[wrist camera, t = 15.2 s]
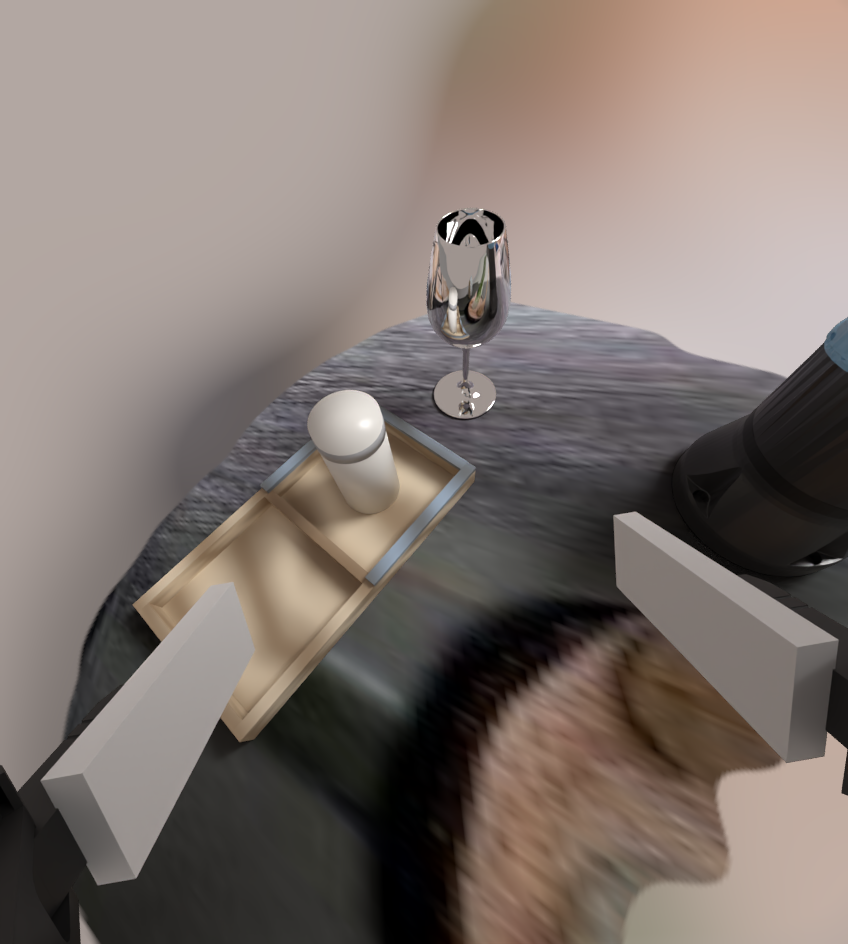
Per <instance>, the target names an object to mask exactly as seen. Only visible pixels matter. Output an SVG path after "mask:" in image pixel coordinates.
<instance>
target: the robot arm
mask: <svg viewBox="0 0 848 944" xmlns="http://www.w3.org/2000/svg"><path fill="white" fill-rule="evenodd" d="M672 490H673V496H674V499H675V503H676V505H677V508H678V510H679V512H680V514H681V516H682V518H683V519H684V521H685V522H686V524H687V525H688V526H689V528H690V529H691V530H692V531H693V533H694V534H695V535H696V536H697V537H698V538H699V539H700V540H701V541H702V542H703V543H705V544H706V545H707V546H708V547H709V548H711V549H712V550H713V551H715V552H716V553H717V554H719V555H720V556H722V557H724V558H725V559H727V560H729V561H731V562H733V563H735V564H737V565H739V566H741V567H744V568H746V569H749V570H752V571H755V572H758V573H762V574H767V575H772V576H783V577H793V576H802V575H807V574H810V573H814V572H816V571H819V570H822V569H824V568H827V567H830V566H832V565H835V564H837V563H839V562H840V561H842V560H843V559H845V558H847V557H848V318H846V319H844V320H843V321H841V322H840V323H838V324H837V325H836V326H835V327H834V328H833V329H832V330H831V331H830V332H829V333H828V335H827V339H826V340H825V342H824V343H823V344H822V345H821V346H820V347H819V348H818V349H817V350H816V351H815V352H814V353H813V354H812V355H811V356H810V357H809V358H808V359H807V360H806V361H805V362H804V363H803V364H802V365H801V366H800V367H799V368H797V369H796V370H795V371H794V372H793V373H792V374H791V375H790V376H789V377H788V378H787V379H786V380H785V381H784V382H783V383H782V384H781V385H780V386H779V387H778V388H776V389H775V390H774V391H773V392H772V393H771V394H770V395H769V396H768V397H767V398H766V399H765V400H764V401H763V402H762V403H761V404H760V405H759V406H758V407H757V408H756V409H755V410H754V411H753V412H752V413H751V414H749V415H747V416H744V417H742V418H740V419H738V420H735V421H733V422H731V423H729V424H726V425H724V426H722V427H720V428H717V429H715V430H713V431H711V432H709V433H707V434H705V435H703V436H702V437H700V438H699V439H698V440H696V441H695V442H694V443H693V444H692V445H691V446H690V447H689V448H688V449H687V450H686V452H685V453H684V454H683V455H682V456H681V457H680V459H679V460H678V462H677V464H676V466H675V468H674V472H673V477H672ZM613 517H614V540H615V562H616V584H617V587H618V588H619V589H620V590H621V591H622V593H623V594H624V595H625V596H626V597H627V598H628V599H629V600H630V601H631V602H632V603H633V604H634V605H635V606H636V607H637V608H638V609H639V610H640V611H641V612H642V613H643V614H644V615H645V616H646V617H647V619H648V620H649V621H650V622H651V623H652V624H653V625H654V626H655V627H656V628H657V629H658V630H659V631H660V632H661V633H662V634H663V635H664V636H665V637H666V638H667V639H668V640H669V641H670V642H671V643H672V644H673V646H674V647H675V648H676V649H677V650H678V651H679V652H680V653H681V654H682V655H683V656H684V657H685V658H686V659H687V660H688V661H689V662H690V663H691V664H692V665H693V666H694V667H695V668H696V669H697V670H698V672H699V673H700V674H701V675H702V676H703V677H704V678H705V679H706V680H707V681H708V682H709V683H710V684H711V685H712V686H713V687H714V688H715V689H716V690H717V691H718V692H719V693H720V694H721V695H722V696H723V698H724V699H725V700H726V701H727V702H728V703H729V704H730V705H731V706H732V707H733V708H734V709H735V710H736V711H737V712H738V713H739V714H740V715H741V716H742V717H743V718H744V719H745V720H746V721H747V722H748V723H749V725H750V726H751V727H752V728H753V729H754V730H755V731H756V732H757V733H758V734H759V735H760V736H761V737H762V738H763V739H764V740H765V741H766V742H767V743H768V744H769V745H770V746H771V747H772V748H773V749H774V751H775V752H776V753H777V754H778V755H779V756H780V757H781V758H782V759H783V760H784V761H785V762H786V763H789V762H795V761H801V760H806V759H812V758H817V757H823V756H824V754H825V746H826V738H827V732H828V733H830V734H831V735H832V736H833V737H834V738H836V739H837V740H838V741H839V742H840V743H841V744H842V745H843V746H845V747H846V748H847V749H848V628H846V627H844V626H842V625H841V624H839V623H837V622H836V621H834V620H832V619H831V618H829V617H827V616H826V615H824V614H822V613H821V612H819V611H817V610H816V609H814V608H812V607H811V608H809V607H808V605H807V604H805V603H804V602H802V601H800V600H799V599H797V598H795V597H793V598H792V597H791V595H790V594H789V593H787V592H785V591H784V590H782V589H780V588H778V587H777V586H775V585H773V584H772V583H770V582H767V581H764V580H761V579H758V578H756V577H753V576H750V575H747V574H743V575H735V574H734V573H732V572H730V571H729V570H727V569H726V568H724V567H722V566H721V565H719V564H718V563H716V562H715V561H713V560H711V559H710V558H708V557H707V556H705V555H703V554H702V553H700V552H699V551H697V550H696V549H694V548H692V547H691V546H689V545H688V544H686V543H684V542H683V541H681V540H680V539H678V538H677V537H675V536H673V535H672V534H670V533H669V532H667V531H665V530H664V529H662V528H661V527H659V526H658V525H656V524H654V523H653V522H651V521H650V520H648V519H646V518H645V517H643V516H642V515H640V514H639V513H637V512H630V513H624V514H619V515H613ZM254 651H255V647H254V644H253V641H252V638H251V635H250V632H249V629H248V626H247V623H246V620H245V617H244V614H243V611H242V607H241V604H240V601H239V598H238V595H237V592H236V589H235V586H234V583H233V582H229V583H223V584H218V585H212V586H210V587H209V588H208V590H207V591H206V592H205V593H204V594H203V595H202V596H201V598H200V599H199V600H198V601H197V602H196V603H195V604H194V606H193V607H192V608H191V609H190V610H189V611H188V612H187V614H186V615H185V616H184V617H183V618H182V619H181V620H180V622H179V623H178V624H177V625H176V626H175V627H174V628H173V630H172V631H171V632H170V633H169V634H168V635H167V636H166V638H165V639H164V640H163V641H162V642H161V643H160V644H159V646H158V647H157V648H156V649H155V650H154V651H153V652H152V654H151V655H150V656H149V657H148V658H147V659H146V660H145V662H144V663H143V664H142V665H141V666H140V667H139V668H138V670H137V671H136V672H135V673H134V674H133V675H132V676H131V678H130V679H129V680H128V681H127V682H126V683H125V684H124V685H120V686H119V687H118V688H116V689H115V690H114V691H112V692H111V693H110V694H109V695H107V696H106V697H105V698H103V699H102V700H101V701H100V702H98V703H97V705H96V706H95V707H94V708H93V709H92V710H91V711H90V712H89V713H88V715H87V716H86V717H85V718H84V719H83V720H82V724H79V725H78V726H77V727H76V728H75V729H74V730H73V731H72V732H71V733H70V734H69V736H68V739H67V740H64V741H63V742H62V743H61V744H60V745H59V747H58V748H57V749H56V750H55V751H54V752H53V753H52V754H51V755H50V757H49V758H48V759H47V760H46V761H45V762H44V763H43V764H42V765H41V766H40V768H39V769H38V770H37V771H36V772H35V773H34V774H33V775H32V776H31V778H30V779H29V780H28V781H27V782H26V783H25V784H24V785H23V787H21V789H20V790H19V791H18V792H17V791H16V789H15V787H14V785H13V784H12V782H11V780H10V779H9V777H8V775H7V773H6V771H5V770H4V768H3V767H2V766H1V765H0V944H81V943H80V923H79V903H78V898H77V896H76V894H75V891H74V890H73V888H72V886H73V884H74V883H75V881H76V880H77V878H78V877H79V875H80V873H81V872H82V870H83V869H84V867H85V866H86V865H87V867H88V868H89V870H90V872H91V874H92V876H93V877H94V879H95V881H96V883H97V885H103V884H108V883H114V882H120V881H125V880H131V879H136V878H137V876H138V874H139V872H140V870H141V868H142V866H143V864H144V862H145V860H146V859H147V857H148V855H149V853H150V851H151V849H152V847H153V845H154V843H155V841H156V839H157V837H158V836H159V834H160V832H161V830H162V828H163V826H164V824H165V822H166V820H167V818H168V816H169V814H170V813H171V811H172V809H173V807H174V805H175V803H176V801H177V799H178V797H179V795H180V793H181V791H182V789H183V788H184V786H185V784H186V782H187V780H188V778H189V776H190V774H191V772H192V770H193V768H194V766H195V765H196V763H197V761H198V759H199V757H200V755H201V753H202V751H203V749H204V747H205V745H206V743H207V742H208V740H209V738H210V736H211V734H212V732H213V730H214V728H215V726H216V724H217V722H218V720H219V719H220V717H221V715H222V713H223V711H224V709H225V707H226V705H227V703H228V701H229V699H230V697H231V695H232V694H233V692H234V690H235V688H236V686H237V684H238V682H239V680H240V678H241V676H242V674H243V672H244V671H245V669H246V667H247V665H248V663H249V661H250V659H251V657H252V655H253V653H254ZM842 794H845V795H848V750H847V757H846V764H845V771H844V779H843V785H842Z"/></svg>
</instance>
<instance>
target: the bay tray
mask: <svg viewBox="0 0 848 944" xmlns="http://www.w3.org/2000/svg"><path fill="white" fill-rule="evenodd" d="M378 405H379V404H378ZM379 407H380V410H381V413H382V416H383V419H384V423H385V428H386V433H387V437H388V441H389V444H390V448H391V452H392V456H393V460H394V464H395V467H396V471H397V475H398V479H399V484H400V489H399V494H398V496H397V498H396V500H395V501H394V503H393V504H392V505H391V506H390V507H388V508H387V509H385V510H383V511H381V512H378V513H374V514H364V513H360V512H357V511H355V510H354V509H352V508H351V507H350V506H349V505H348V504H347V502H346V500H345V498H344V497H343V495H342V493H341V491H340V489H339V487H338V486H337V484H336V482H335V480H334V478H333V476H332V475H331V473H330V471H329V469H328V467H327V465H326V463H325V462H324V460H323V458H322V456H321V454H320V453H319V452H318V450H317V448H316V446H315V445H314V443H313V441H312V439H311V440H310V441H309V442H308V443H306V444H305V445H304V446H303V447H302V448H301V449H300V450H299V451H298V452H296V453H295V454H294V455H293V456H292V457H291V458H290V459H289V460H288V461H286V462H285V463H284V464H283V465H282V466H281V467H280V468H279V469H277V470H276V471H275V472H274V473H273V474H272V475H271V476H270V477H269V478H267V479H266V480H265V481H264V482H263V483H262V484H261V485H260V486H261V487H262V488H261V489H260V490H259V491H258V492H257V493H256V494H255V495H254V496H253V497H251V498H250V499H249V500H248V501H247V502H246V503H245V504H244V505H243V506H242V507H240V508H239V509H238V510H237V511H236V512H235V513H234V514H233V515H232V516H230V517H229V518H228V519H227V520H226V521H225V522H224V523H223V524H222V525H220V526H219V527H218V528H217V529H216V530H215V531H214V532H213V533H212V534H210V535H209V536H208V537H207V538H206V539H205V540H204V541H203V542H202V543H201V544H199V545H198V546H197V547H196V548H195V549H194V550H193V551H192V552H191V553H189V554H188V555H187V556H186V557H185V558H184V559H183V560H182V561H181V562H179V563H178V564H177V565H176V566H175V567H174V568H173V569H172V570H171V571H169V572H168V573H167V574H166V575H165V576H164V577H163V578H162V579H161V580H160V581H158V582H157V583H156V584H155V585H154V586H153V587H152V588H151V589H150V590H148V591H147V592H146V593H145V594H144V595H143V596H142V597H141V598H140V599H138V600H137V601H136V602H135V603H134V604H133V606H134V607H135V609H136V610H137V611H138V612H139V614H140V615H141V616H142V618H143V619H144V620H145V621H146V623H147V624H148V625H149V627H150V628H151V629H152V630H153V632H154V633H155V634H156V635H157V637H158V638H159V639H160V641H161V642H162V641H163V640H164V639H165V638H166V636H167V635H168V634H169V633H170V632H171V631H172V630H173V628H174V627H175V626H176V625H177V624H178V623H179V622H180V620H181V619H182V618H183V617H184V616H185V615H186V614H187V612H188V611H189V610H190V609H191V608H192V607H193V606H194V604H195V603H196V602H197V601H198V600H199V599H200V598H201V596H202V595H203V594H204V593H205V592H206V591H207V590H208V588H209V587H210V586H212V585H218V584H223V583H229V582H233V583H234V586H235V589H236V592H237V595H238V598H239V601H240V604H241V607H242V611H243V614H244V617H245V620H246V623H247V626H248V629H249V632H250V635H251V638H252V641H253V644H254V647H255V651H254V653H253V655H252V657H251V659H250V661H249V663H248V665H247V667H246V669H245V671H244V672H243V674H242V676H241V678H240V680H239V682H238V684H237V686H236V688H235V690H234V692H233V694H232V695H231V697H230V699H229V701H228V703H227V705H226V707H225V709H224V711H223V713H222V715H221V717H220V718H221V719H222V720H223V722H224V723H225V724H226V725H227V727H228V728H229V729H230V731H231V732H232V733H233V734H234V736H235V737H236V738H237V740H238V741H239V742H243V741H249V740H254V739H255V738H256V736H257V735H258V734H259V733H260V732H261V731H262V729H263V728H264V727H265V726H266V725H267V724H268V722H269V721H270V720H271V719H272V718H273V717H274V715H275V714H276V713H277V712H278V711H279V710H280V708H281V707H282V706H283V705H284V704H285V703H286V701H287V700H288V699H289V698H290V697H291V695H292V694H293V693H294V692H295V691H296V690H297V688H298V687H299V686H300V685H301V684H302V683H303V681H304V680H305V679H306V678H307V677H308V676H309V674H310V673H311V672H312V671H313V670H314V669H315V667H316V666H317V665H318V664H319V663H320V662H321V660H322V659H323V658H324V657H325V656H326V655H327V653H328V652H329V651H330V650H331V649H332V648H333V646H334V645H335V644H336V643H337V642H338V640H339V639H340V638H341V637H342V636H343V635H344V633H345V632H346V631H347V630H348V629H349V628H350V626H351V625H352V624H353V623H354V622H355V621H356V619H357V618H358V617H359V616H360V615H361V614H362V612H363V611H364V610H365V609H366V608H367V607H368V605H369V604H370V603H371V602H372V601H373V600H374V598H375V597H376V596H377V595H378V594H379V593H380V591H381V590H382V589H383V588H384V587H385V586H386V584H387V583H388V582H389V581H390V580H391V578H392V577H393V576H394V575H395V574H396V573H397V571H398V570H399V569H400V568H401V567H402V566H403V564H404V563H405V562H406V561H407V560H408V559H409V557H410V556H411V555H412V554H413V553H414V552H415V550H416V549H417V548H418V547H419V546H420V545H421V543H422V542H423V541H424V540H425V539H426V538H427V536H428V535H429V534H430V533H431V532H432V531H433V529H434V528H435V527H436V526H437V525H438V523H439V522H440V521H441V520H442V519H443V518H444V516H445V515H446V514H447V513H448V512H449V511H450V509H451V508H452V507H453V506H454V505H455V504H456V502H457V501H458V500H459V499H460V498H461V497H462V495H463V494H464V493H465V492H466V491H467V490H468V488H469V487H470V486H471V485H472V484H473V483H474V479H475V470H476V467H474V466H473V465H471V464H470V463H468V462H467V461H466V460H464V459H463V458H461V457H460V456H458V455H456V454H455V453H453V452H452V451H450V450H449V449H447V448H446V447H444V446H442V445H441V444H439V443H438V442H436V441H435V440H433V439H432V438H430V437H429V436H427V435H425V434H424V433H422V432H421V431H419V430H418V429H416V428H415V427H413V426H411V425H410V424H408V423H407V422H405V421H404V420H402V419H401V418H399V417H398V416H396V415H394V414H393V413H391V412H390V411H388V410H387V409H385V408H384V407H382V406H380V405H379Z"/></svg>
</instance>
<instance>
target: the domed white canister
mask: <svg viewBox="0 0 848 944" xmlns="http://www.w3.org/2000/svg"><path fill="white" fill-rule="evenodd" d="M307 427H308V431H309V434H310V436H311V438H312V441H313V443H314V445H315V446H316V448H317V450H318V452H319V453H320V454H321V456H322V458H323V460H324V462H325V463H326V465H327V467H328V469H329V471H330V473H331V475H332V476H333V478H334V480H335V482H336V484H337V486H338V487H339V489H340V491H341V493H342V495H343V497H344V498H345V500H346V502H347V504H348V505H349V506H350V507H351V508H352V509H354V510H355V511H357V512H360V513H364V514H374V513H378V512H381V511H383V510H385V509H387V508H388V507H390V506H391V505H392V504H393V503H394V501H395V500H396V498H397V496H398V494H399V489H400V484H399V479H398V475H397V471H396V467H395V464H394V460H393V456H392V452H391V448H390V444H389V441H388V437H387V433H386V428H385V423H384V419H383V416H382V413H381V410H380V407H379V405H378V403H377V402H376V400H375V399H374V398H373V397H371V396H370V395H368V394H366V393H364V392H361V391H356V390H343V391H338V392H335V393H332V394H330V395H328V396H326V397H324V398H323V399H322V400H320V401H319V402H318V403H317V404H316V405H315V406H314V407H313V409H312V410H311V412H310V414H309V417H308V422H307Z"/></svg>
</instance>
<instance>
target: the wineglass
mask: <svg viewBox="0 0 848 944" xmlns="http://www.w3.org/2000/svg"><path fill="white" fill-rule="evenodd" d="M426 296H427V297H426V306H427V313H428V319H429V321H430V323H431V325H432V328H433V330H434V331H435V333H436V334H437V335H438V336H439V337H440V338H441V339H442V340H444V341H445V342H446V343H448V344H450V345H452V346H455V347H459V348H462V350H463V370H461V371H455V372H452V373H450V374H447V375H446V376H444V377H443V378H442V379H441V380H440V381H439V382H438V383H437V385H436V387H435V390H434V400H435V403H436V405H437V406H438V408H439V409H440V410H441V411H442V412H444V413H445V414H447V415H449V416H451V417H454V418H459V419H471V418H475V417H479V416H481V415H483V414H485V413H486V412H487V411H489V410H490V409H491V408H492V406H493V405H494V403H495V400H496V389H495V386H494V384H493V383H492V381H491V380H490V379H489V378H487V377H486V376H485V375H483V374H481V373H478V372H476V371H470V370H469V356H470V349H471V348H475V347H479V346H482V345H484V344H486V343H487V342H489V341H490V340H492V339H493V338H494V337H495V336H496V335H497V334H498V333H499V332H500V331H501V329H502V327H503V326H504V324H505V322H506V320H507V317H508V313H509V309H510V299H511V274H510V261H509V250H508V241H507V233H506V225H505V221H504V220H503V218H502V217H501V216H499V215H498V214H496V213H494V212H493V211H490V210H486V209H482V208H464V209H459V210H455V211H453V212H450V213H448V214H446V215H445V216H443V217H442V218H441V219H440V220H439V221H438V223H437V225H436V230H435V236H434V241H433V247H432V253H431V259H430V266H429V273H428V280H427V294H426Z"/></svg>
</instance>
